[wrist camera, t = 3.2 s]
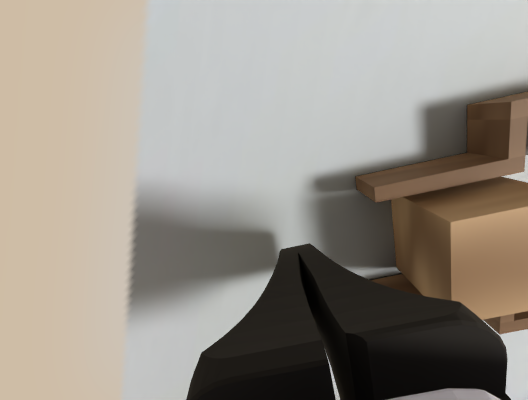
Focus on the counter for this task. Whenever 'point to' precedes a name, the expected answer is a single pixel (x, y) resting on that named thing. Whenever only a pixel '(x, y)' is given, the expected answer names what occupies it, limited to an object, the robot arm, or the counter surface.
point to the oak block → (467, 244)
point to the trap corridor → (463, 172)
